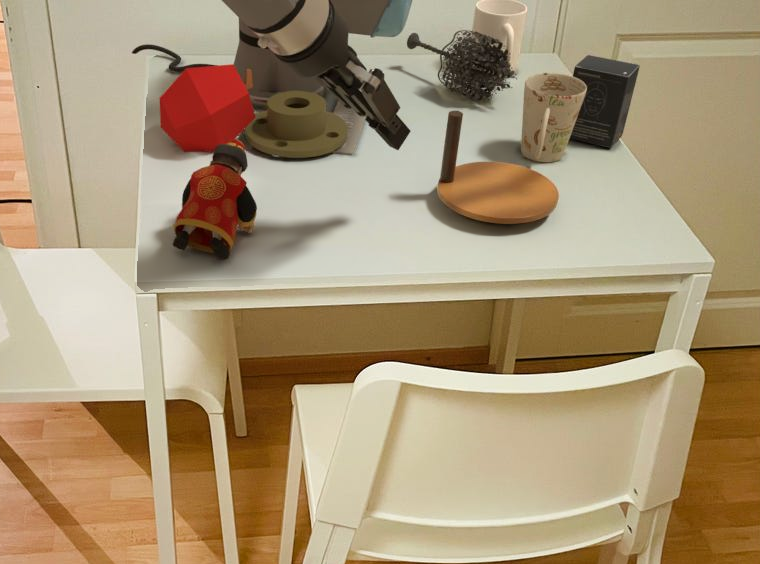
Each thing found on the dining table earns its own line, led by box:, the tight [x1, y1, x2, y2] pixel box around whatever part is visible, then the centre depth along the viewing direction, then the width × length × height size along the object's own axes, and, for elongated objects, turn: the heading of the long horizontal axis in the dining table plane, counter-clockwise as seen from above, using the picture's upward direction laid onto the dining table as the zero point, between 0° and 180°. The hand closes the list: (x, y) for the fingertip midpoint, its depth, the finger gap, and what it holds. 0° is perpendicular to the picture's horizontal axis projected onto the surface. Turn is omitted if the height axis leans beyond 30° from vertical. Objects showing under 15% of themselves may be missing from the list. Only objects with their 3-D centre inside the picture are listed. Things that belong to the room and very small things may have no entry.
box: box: [569, 54, 641, 149], centre depth 136 cm, size 8×6×11 cm
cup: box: [469, 0, 528, 78], centre depth 154 cm, size 8×12×10 cm
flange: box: [244, 91, 348, 159], centre depth 136 cm, size 5×15×15 cm
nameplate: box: [329, 100, 366, 156], centre depth 143 cm, size 23×1×5 cm
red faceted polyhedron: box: [158, 63, 256, 153], centre depth 134 cm, size 12×12×15 cm
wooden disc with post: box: [436, 110, 560, 225], centre depth 120 cm, size 16×16×10 cm
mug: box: [520, 72, 587, 163], centre depth 131 cm, size 8×13×10 cm, turn 163°
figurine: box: [172, 138, 258, 260], centre depth 115 cm, size 10×10×15 cm
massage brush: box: [406, 29, 518, 102], centre depth 149 cm, size 9×22×9 cm
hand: (400, 138), depth 114 cm, fingers closed
